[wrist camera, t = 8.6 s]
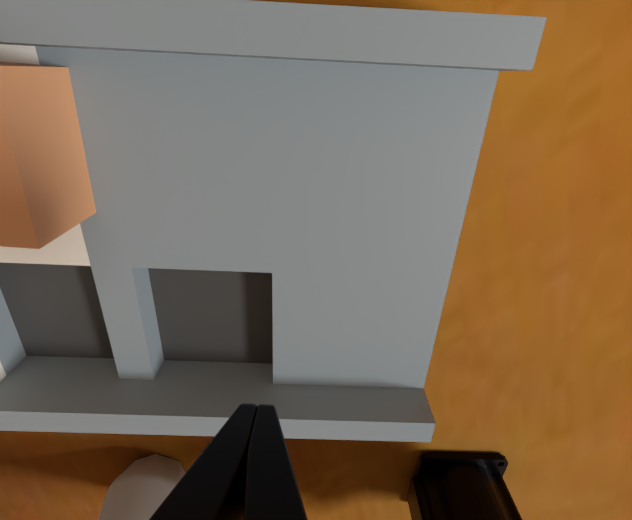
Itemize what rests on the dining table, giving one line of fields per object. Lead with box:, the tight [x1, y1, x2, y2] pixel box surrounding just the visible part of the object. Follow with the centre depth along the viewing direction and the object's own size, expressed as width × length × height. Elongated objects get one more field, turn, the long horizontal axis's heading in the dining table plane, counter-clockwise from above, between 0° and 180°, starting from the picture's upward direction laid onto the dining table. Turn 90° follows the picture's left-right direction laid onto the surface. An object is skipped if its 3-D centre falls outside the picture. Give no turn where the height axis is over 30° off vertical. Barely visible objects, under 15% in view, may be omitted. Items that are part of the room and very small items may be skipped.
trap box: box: [0, 0, 547, 442], centre depth 18 cm, size 26×20×5 cm
